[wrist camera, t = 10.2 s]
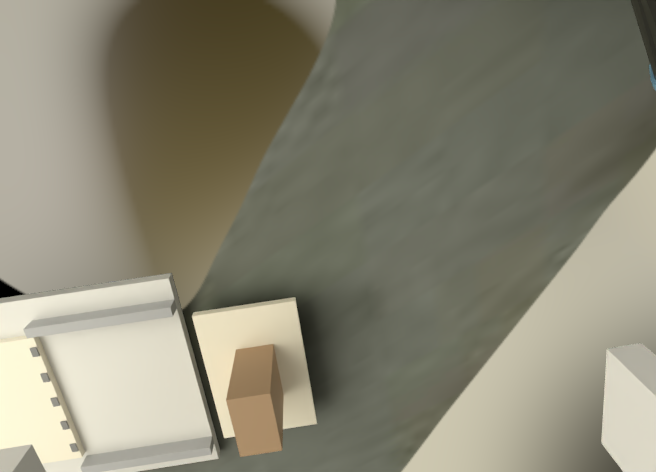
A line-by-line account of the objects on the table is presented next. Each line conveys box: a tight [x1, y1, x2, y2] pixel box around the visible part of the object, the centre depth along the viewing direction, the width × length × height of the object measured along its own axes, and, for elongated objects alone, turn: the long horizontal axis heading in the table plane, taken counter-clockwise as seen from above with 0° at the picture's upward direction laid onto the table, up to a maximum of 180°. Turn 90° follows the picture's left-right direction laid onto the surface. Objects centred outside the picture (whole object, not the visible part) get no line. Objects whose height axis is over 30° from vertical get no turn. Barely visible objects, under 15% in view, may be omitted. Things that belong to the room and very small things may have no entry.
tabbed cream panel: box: [192, 297, 317, 457], centre depth 36 cm, size 8×12×7 cm, turn 7°
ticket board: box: [0, 273, 220, 472], centre depth 39 cm, size 24×18×2 cm
